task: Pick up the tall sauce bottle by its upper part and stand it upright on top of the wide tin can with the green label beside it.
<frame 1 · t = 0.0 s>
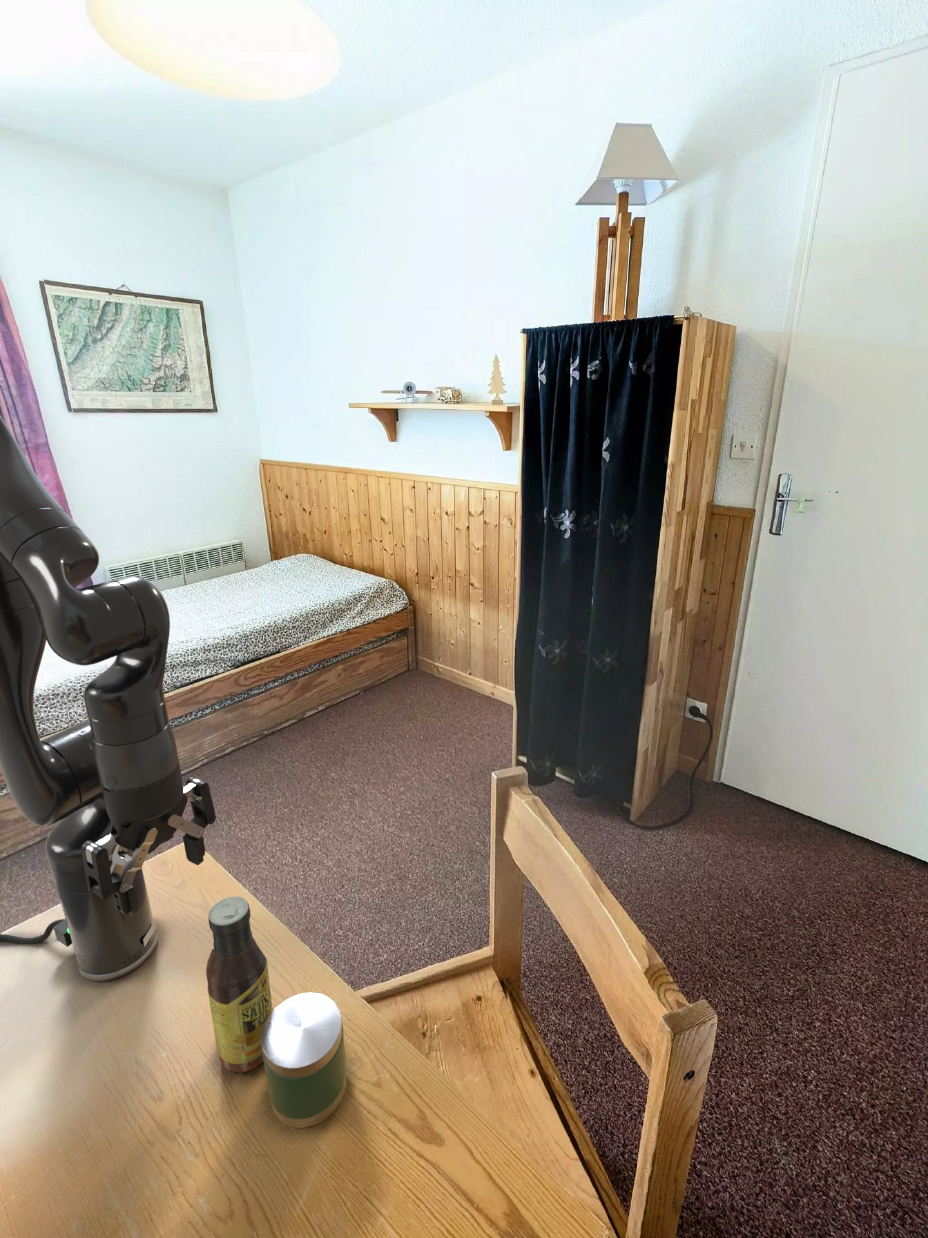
hand: (164, 885, 70), 17 cm above the table, tool pointing down, fingers open, 8 cm apart
sauce bottle: (248, 1047, 70), on the table
tin can: (309, 1086, 66), on the table
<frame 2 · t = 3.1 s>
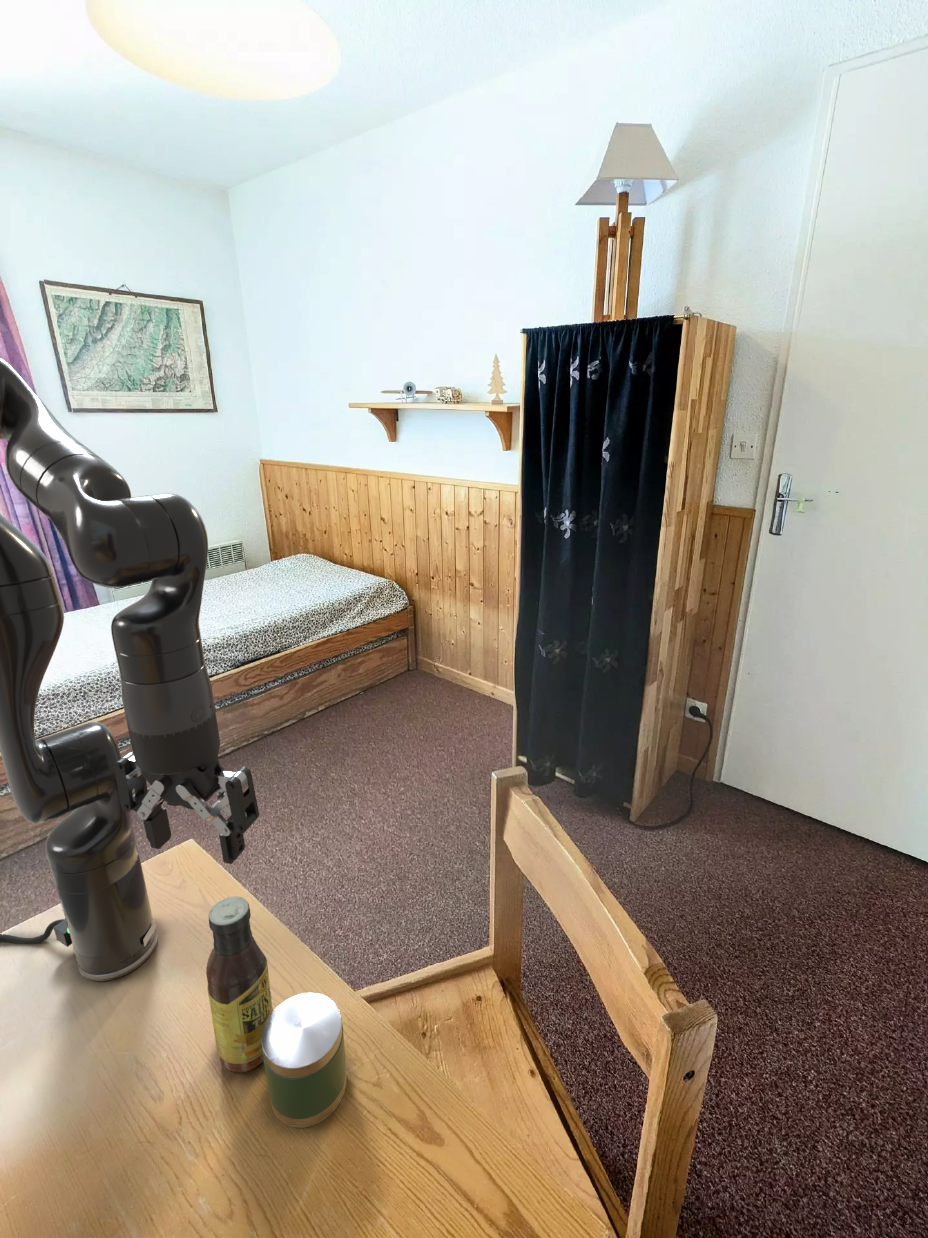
hand: (196, 850, 62), 26 cm above the table, tool pointing down, fingers open, 8 cm apart
nothing on the table moved.
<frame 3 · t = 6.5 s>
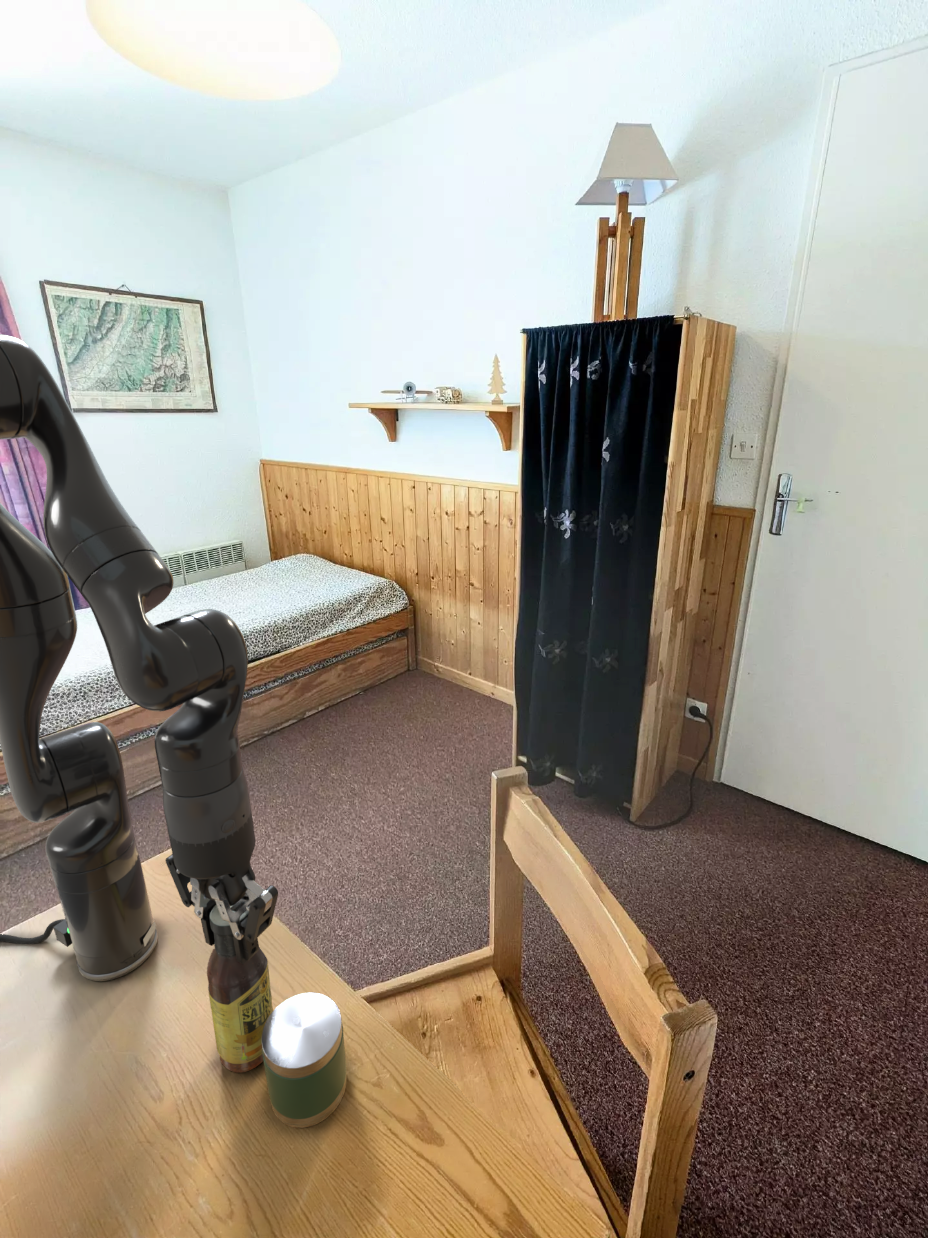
hand: (231, 946, 64), 15 cm above the table, tool pointing down, fingers closed on sauce bottle, 4 cm apart
sauce bottle: (248, 1047, 70), on the table, touching gripper
everything else where it was.
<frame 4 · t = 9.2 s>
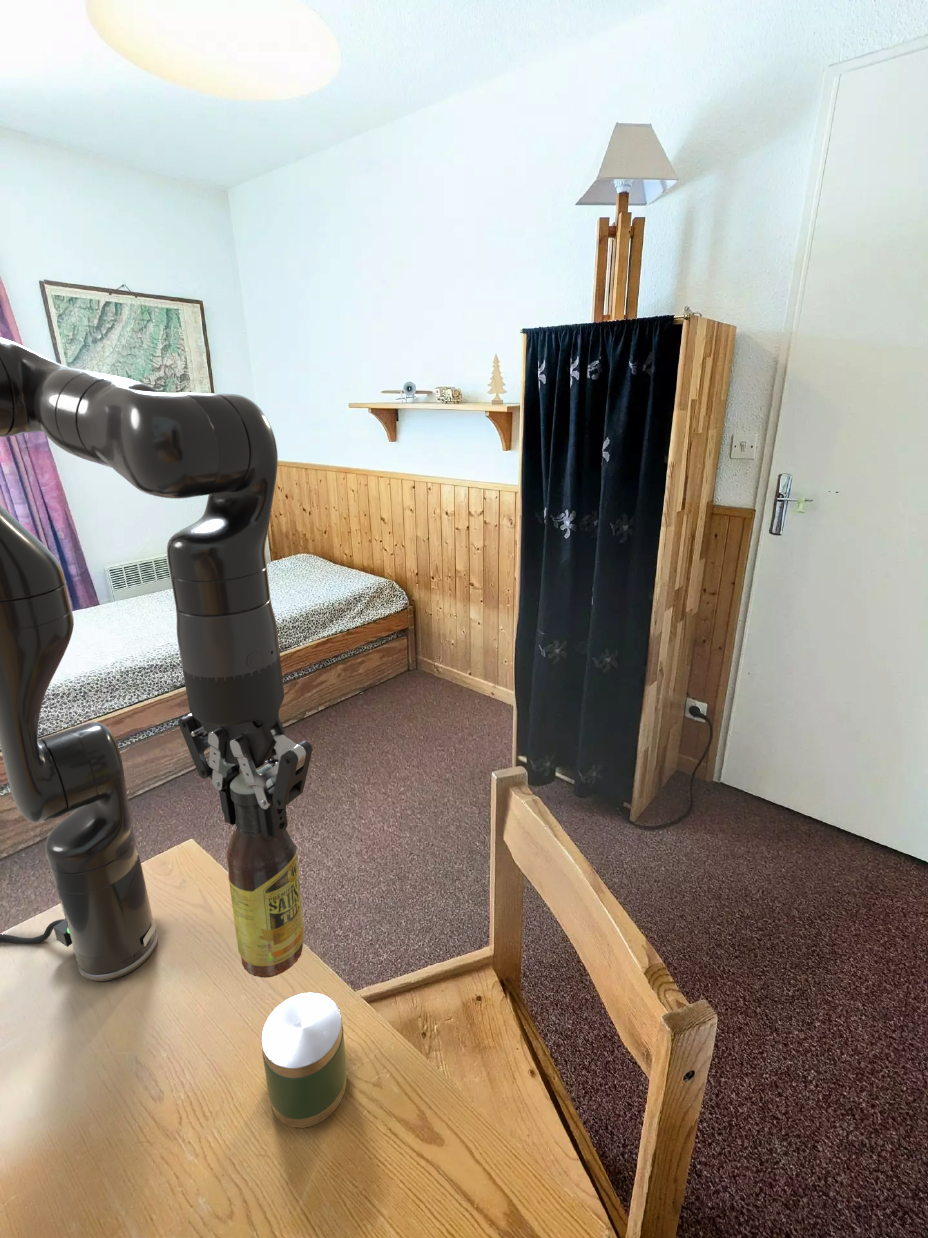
hand: (255, 826, 55), 33 cm above the table, tool pointing down, fingers closed on sauce bottle, 4 cm apart
sauce bottle: (274, 954, 60), point 18 cm above the table, touching gripper
everything else where it was.
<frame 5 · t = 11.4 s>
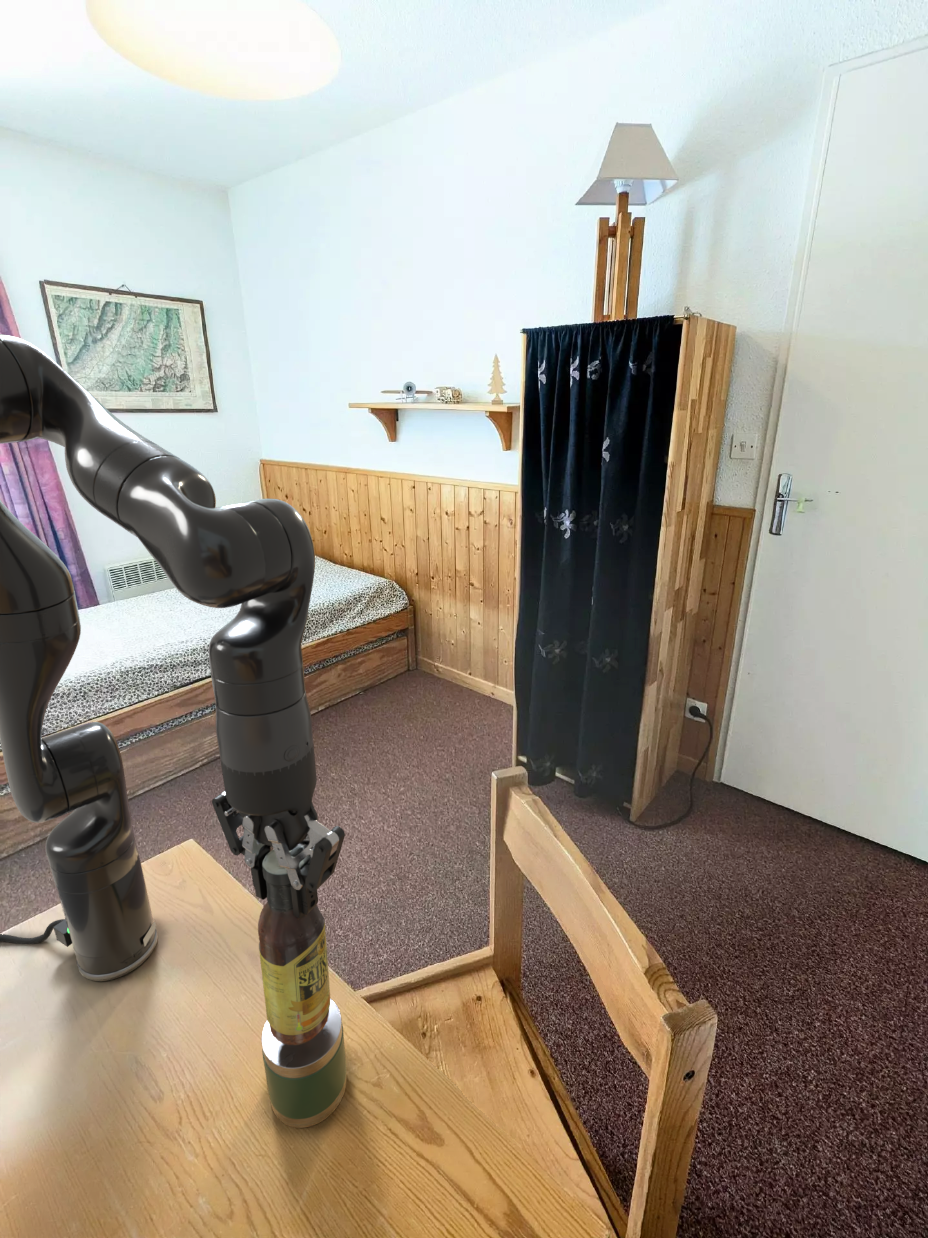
hand: (285, 901, 57), 26 cm above the table, tool pointing down, fingers closed on sauce bottle, 4 cm apart
sauce bottle: (301, 1018, 62), point 10 cm above the table, touching gripper
everything else where it was.
when the fingers open (24 cm above the table, at t = 12.4 s): sauce bottle stays where it is, resting on tin can.
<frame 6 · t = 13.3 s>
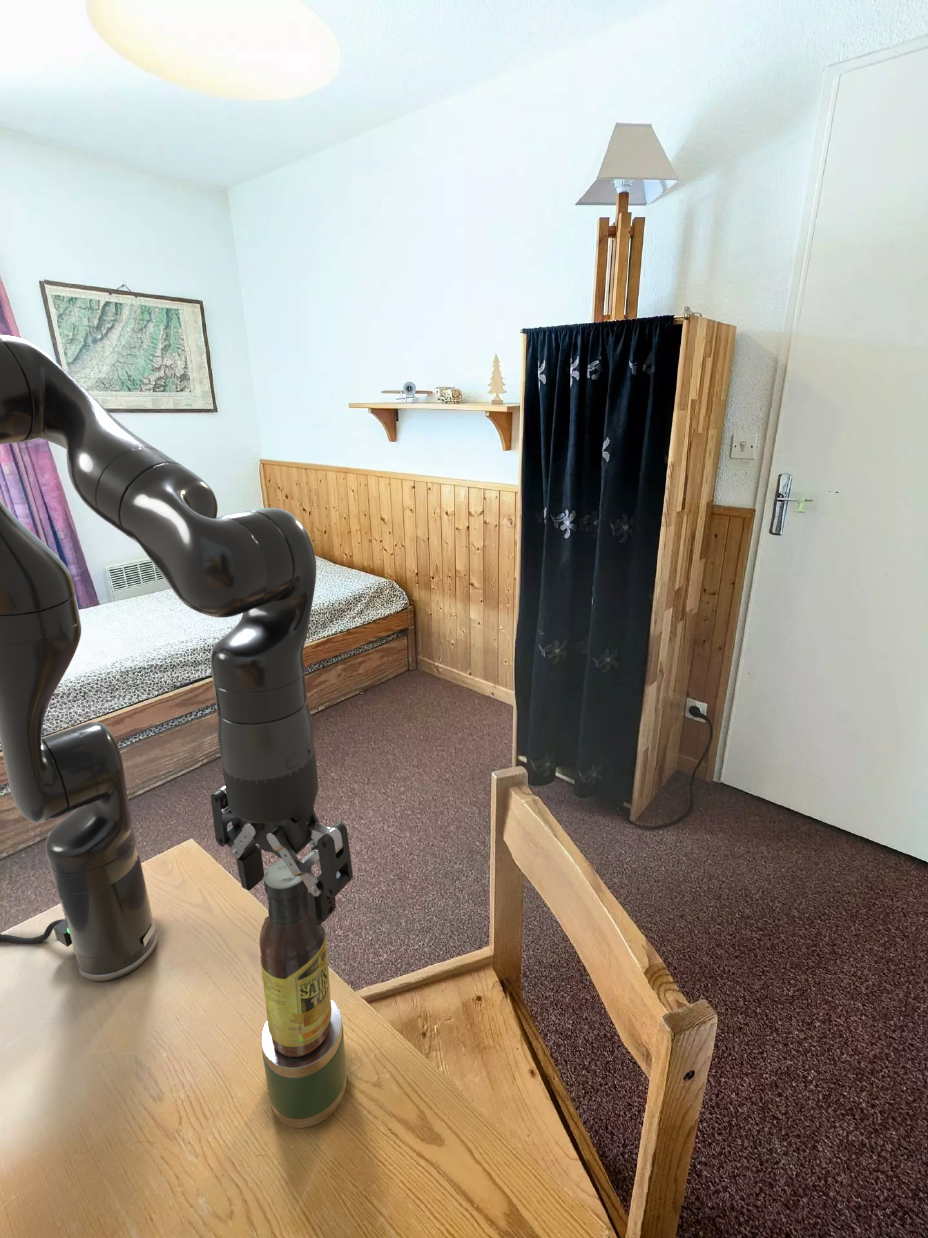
hand: (286, 900, 57), 26 cm above the table, tool pointing down, fingers open, 8 cm apart
sauce bottle: (302, 1030, 62), point 9 cm above the table, touching tin can
tin can: (309, 1086, 66), on the table, touching sauce bottle
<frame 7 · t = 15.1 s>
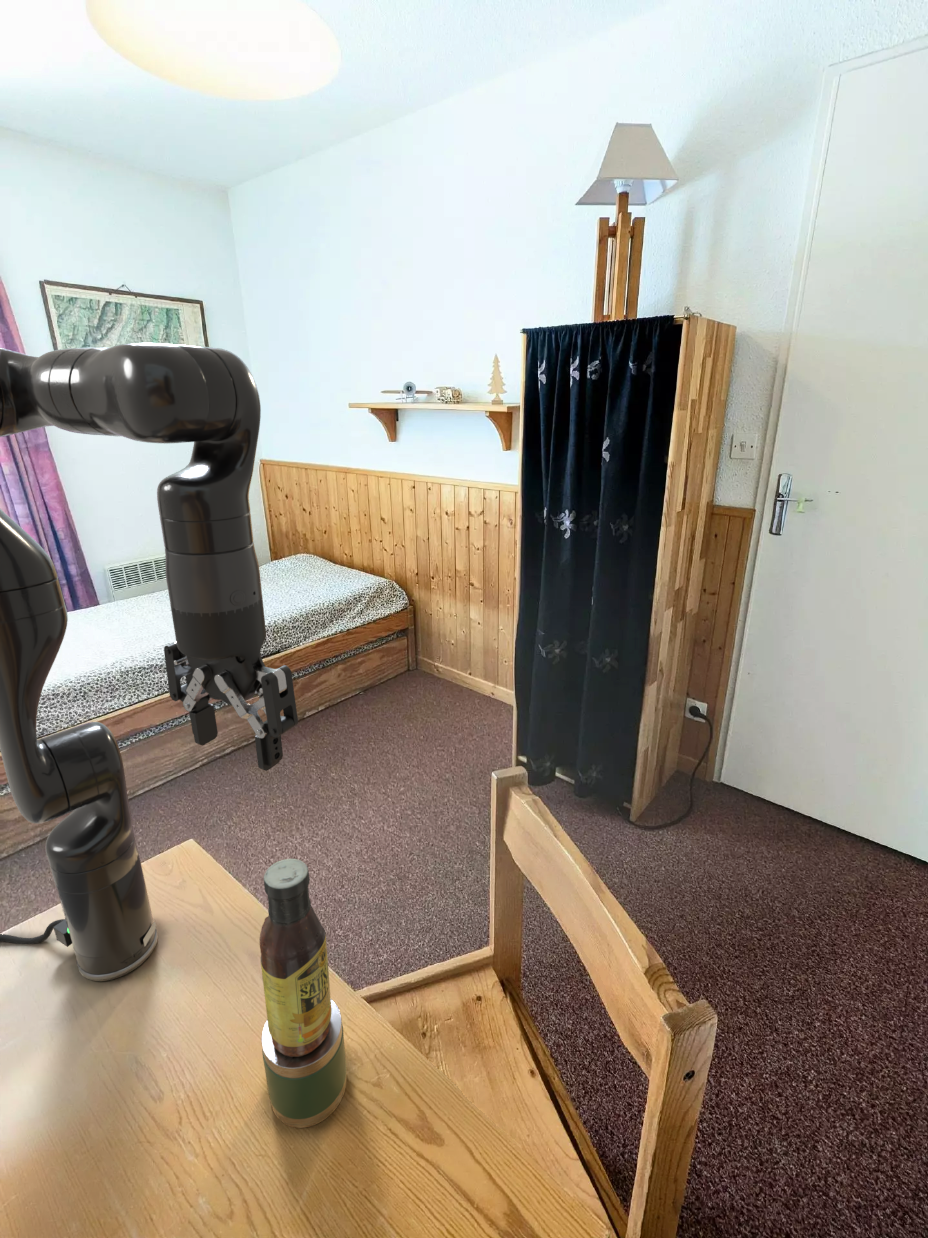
hand: (237, 753, 59), 38 cm above the table, tool pointing down, fingers open, 8 cm apart
nothing on the table moved.
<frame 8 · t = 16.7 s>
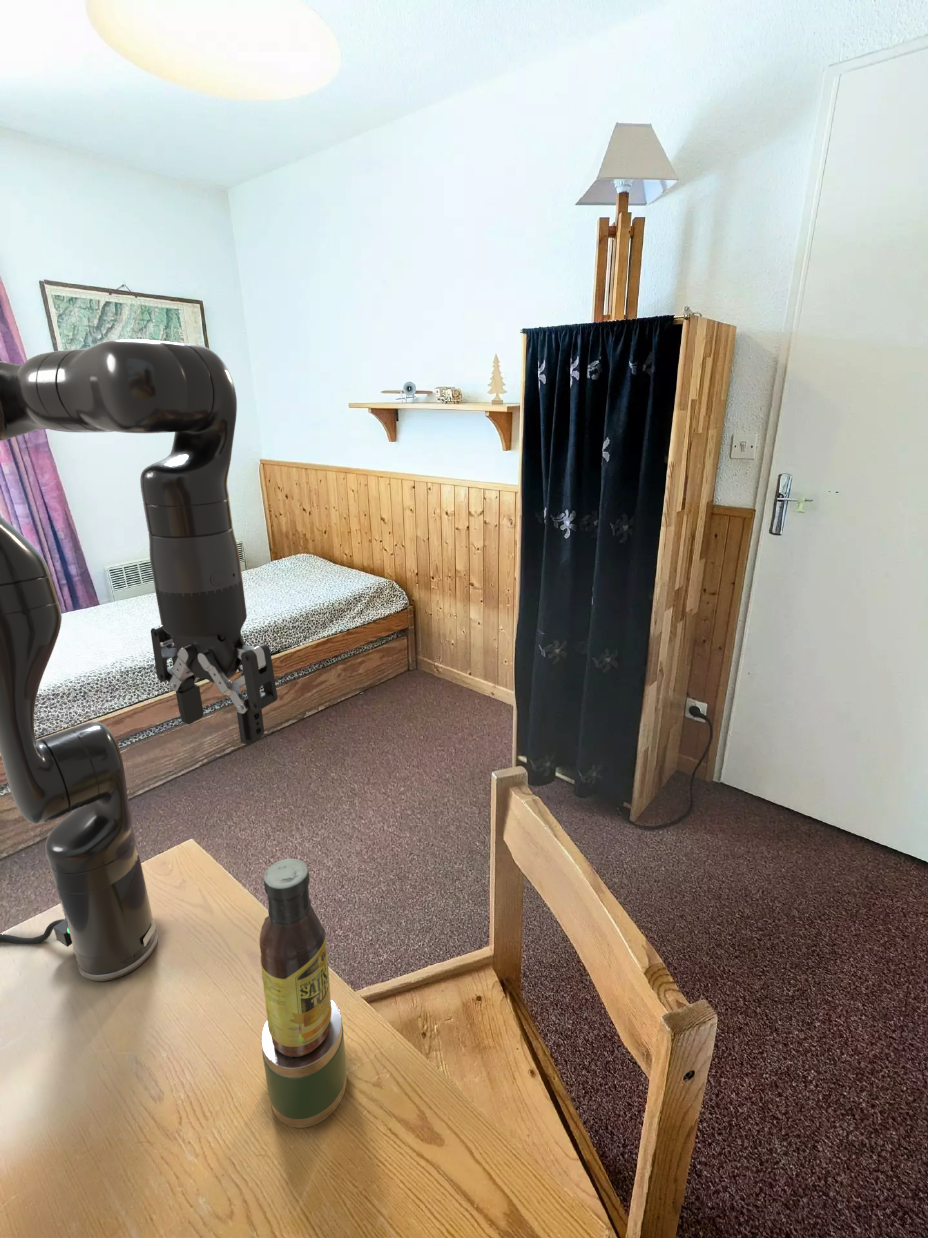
hand: (221, 730, 62), 38 cm above the table, tool pointing down, fingers open, 8 cm apart
nothing on the table moved.
at the end: sauce bottle 0.1 cm off-centre on the tin can, point 8.8 cm above the tin can's base; sauce bottle tilted 0°; tin can tilted 0° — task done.
